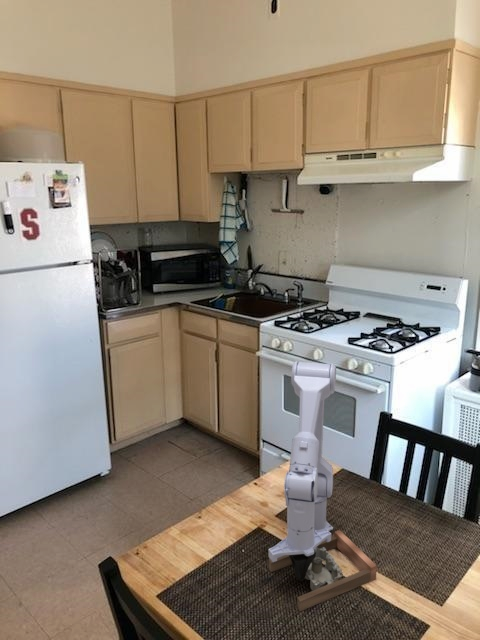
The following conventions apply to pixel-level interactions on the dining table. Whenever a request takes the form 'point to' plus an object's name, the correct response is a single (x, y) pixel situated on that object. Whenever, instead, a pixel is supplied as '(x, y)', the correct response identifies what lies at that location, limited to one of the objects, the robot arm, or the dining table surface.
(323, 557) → the egg carton
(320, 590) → the channel
